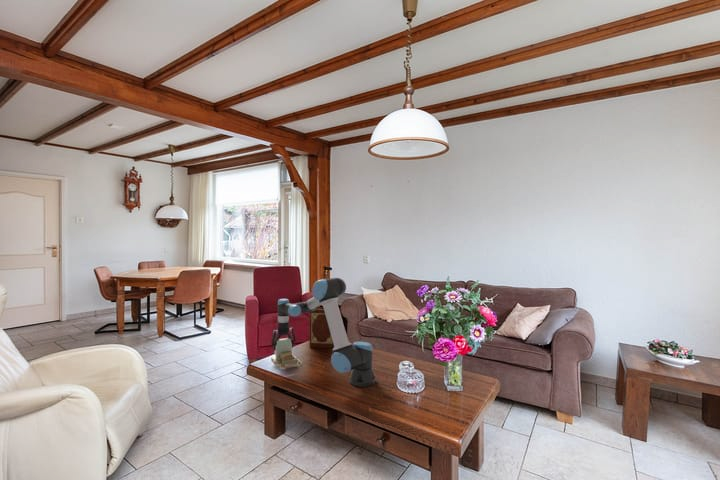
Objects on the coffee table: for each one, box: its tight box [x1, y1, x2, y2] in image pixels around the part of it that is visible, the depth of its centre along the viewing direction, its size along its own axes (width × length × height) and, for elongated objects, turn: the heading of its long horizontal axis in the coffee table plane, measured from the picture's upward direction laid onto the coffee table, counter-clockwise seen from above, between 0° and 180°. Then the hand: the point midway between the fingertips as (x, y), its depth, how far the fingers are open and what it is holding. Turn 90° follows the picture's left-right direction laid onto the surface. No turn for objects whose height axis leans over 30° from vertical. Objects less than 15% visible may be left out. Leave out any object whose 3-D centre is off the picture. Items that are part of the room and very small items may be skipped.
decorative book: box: [309, 306, 334, 349], centre depth 265 cm, size 22×8×30 cm, turn 84°
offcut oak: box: [280, 350, 293, 358], centre depth 229 cm, size 4×7×3 cm
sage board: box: [275, 337, 292, 361], centre depth 234 cm, size 3×10×14 cm, turn 121°
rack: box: [270, 353, 303, 370], centre depth 229 cm, size 20×15×7 cm
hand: (283, 353), depth 234 cm, fingers closed on sage board, 10 cm apart
